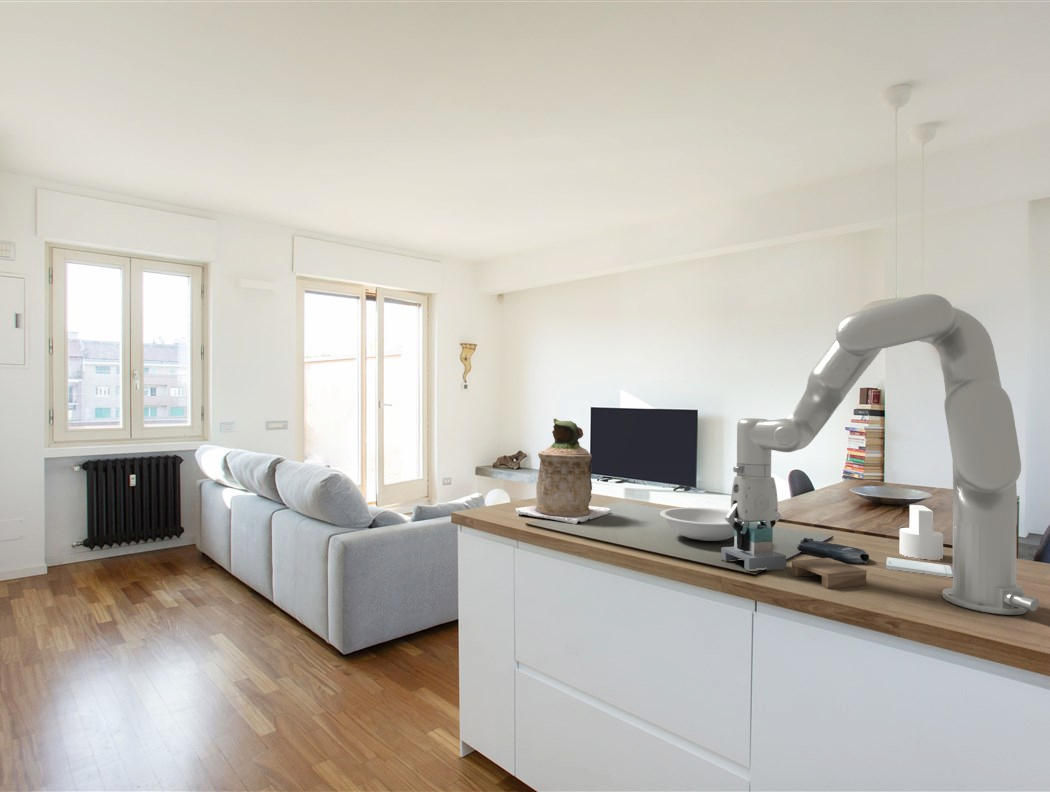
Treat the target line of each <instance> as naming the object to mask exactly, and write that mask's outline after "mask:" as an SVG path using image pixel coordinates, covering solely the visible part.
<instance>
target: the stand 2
mask: <svg viewBox="0 0 1050 792" xmlns="http://www.w3.org/2000/svg"><path fill="white" fill-rule="evenodd" d="M791 575H792V576H794V577H808V576H818V575H819V576H821V587H822V588H825V589H837V588H838V589H839V588H848V587H856V586H857V587H859V586H867V569H864V568H860V567H858V566H854V565H851V564H850V563H845V562H840V561H836V560H833V559H830V558H825V557H821V558H820V557H819V558H811V559H810V558H809V559H798V560H791Z"/></svg>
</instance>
